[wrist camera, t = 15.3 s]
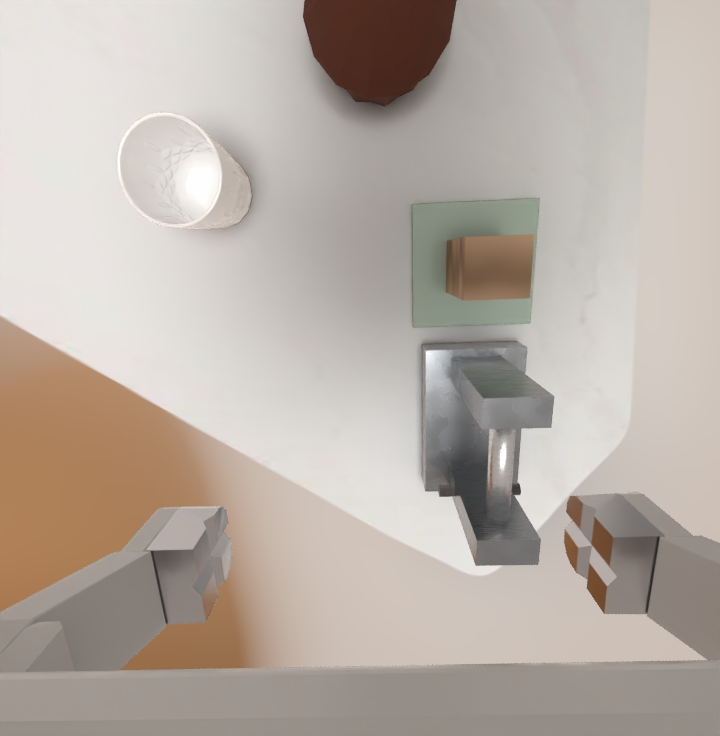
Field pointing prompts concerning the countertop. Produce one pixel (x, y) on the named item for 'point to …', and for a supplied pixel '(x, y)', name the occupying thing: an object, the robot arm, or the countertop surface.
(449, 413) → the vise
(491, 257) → the wooden block
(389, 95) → the muffin
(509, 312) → the mat
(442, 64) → the countertop surface
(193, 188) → the white cup
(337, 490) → the countertop surface
